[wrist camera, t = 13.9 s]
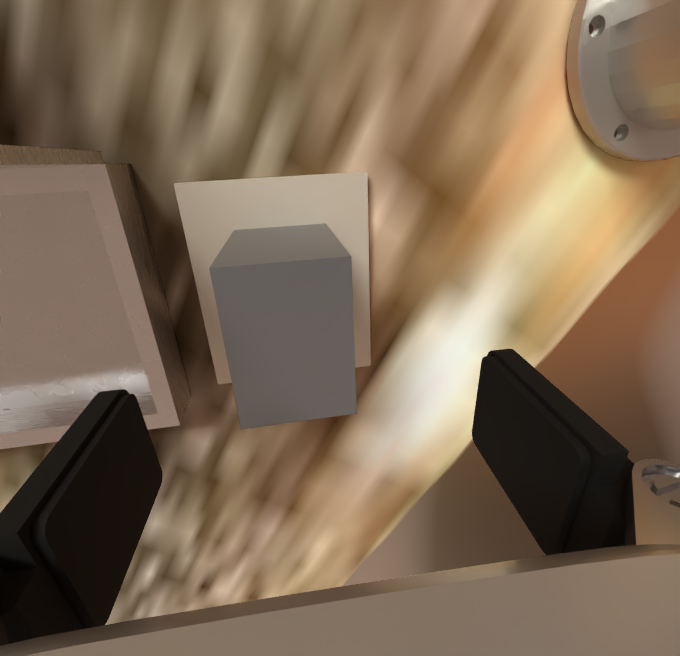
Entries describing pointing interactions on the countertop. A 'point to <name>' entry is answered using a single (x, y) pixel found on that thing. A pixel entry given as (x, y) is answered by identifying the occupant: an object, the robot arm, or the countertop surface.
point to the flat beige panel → (276, 211)
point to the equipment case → (78, 296)
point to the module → (287, 323)
